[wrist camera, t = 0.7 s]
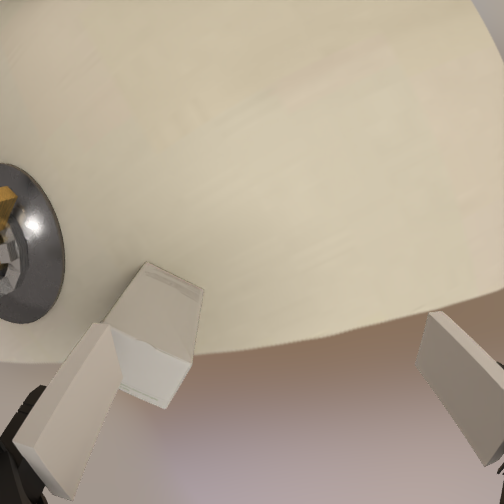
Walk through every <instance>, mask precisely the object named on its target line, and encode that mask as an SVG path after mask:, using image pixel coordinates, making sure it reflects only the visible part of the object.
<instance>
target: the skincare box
mask: <svg viewBox="0 0 504 504" xmlns="http://www.w3.org/2000/svg"><path fill="white" fill-rule="evenodd" d="M203 293H204V290H203V289H202V288H199V287H197V286H195V285H193V284H191V283H189V282H187V281H185V280H183V279H181V278H179V277H177V276H175V275H173V274H171V273H169V272H167V271H165V270H163V269H161V268H159V267H157V266H155V265H152V264H150V263H148V262H146V263H144V265H143V266H142V267H141V269H140V270H139V271H138V273H137V274H136V276H135V277H134V278H133V280H132V281H131V282H130V284H129V285H128V286H127V288H126V289H125V291H124V292H123V293H122V295H121V296H120V297H119V299H118V300H117V302H116V303H115V304H114V306H113V307H112V309H111V310H110V312H109V313H108V314H107V316H106V317H105V318H104V319H103V320H102V321H101V322H100V323H101V324H110V329H111V333H112V337H113V341H114V345H115V349H116V353H117V357H118V361H119V365H120V368H121V372H122V375H123V379H122V382H121V384H120V386H119V388H118V389H120V390H122V391H124V392H126V393H128V394H130V395H133V396H135V397H137V398H139V399H142V400H144V401H146V402H149V403H151V404H153V405H156V406H158V407H161V408H163V409H166V408H167V406H168V405H169V403H170V402H171V400H172V399H173V397H174V395H175V393H176V392H177V390H178V388H179V387H180V385H181V383H182V382H183V380H184V378H185V376H186V375H187V373H188V371H189V370H190V368H191V366H192V362H193V355H194V348H195V342H196V335H197V330H198V323H199V317H200V311H201V306H202V300H203Z"/></svg>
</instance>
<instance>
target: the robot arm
mask: <svg viewBox="0 0 504 504" xmlns="http://www.w3.org/2000/svg"><path fill="white" fill-rule="evenodd" d="M415 366H416V367H417V369H418V370H419V371H420V373H421V374H422V376H423V377H424V378H425V380H426V381H427V382H428V384H429V385H430V387H431V388H432V389H433V391H434V392H435V394H436V395H437V396H438V398H439V399H440V401H441V402H442V404H443V405H444V407H445V408H446V409H447V411H448V412H449V414H450V415H451V417H452V418H453V420H454V421H455V422H456V424H457V426H458V427H459V428H460V430H461V431H462V433H463V435H464V436H465V438H466V439H467V441H468V442H469V444H470V445H471V446H472V448H473V449H474V451H475V453H476V454H477V456H478V458H479V459H480V461H481V462H482V464H483V465H484V467H486V466H488V465H490V464H492V463H494V462H496V461H497V460H499V459H500V458H501V457H502V455H503V454H504V365H502V364H501V363H499V362H495V361H494V360H493V359H492V358H491V357H490V356H489V355H488V354H487V353H486V352H485V351H484V350H483V349H482V348H481V347H480V346H479V345H478V344H477V343H476V342H475V341H474V340H473V339H472V338H471V337H470V336H468V334H466V333H465V332H464V331H463V330H462V329H461V328H460V327H459V326H458V325H457V324H456V323H455V322H453V321H452V320H451V319H450V318H449V317H448V316H447V315H446V314H445V313H443V312H442V311H439V312H431V313H428V317H427V321H426V326H425V330H424V333H423V337H422V341H421V344H420V348H419V352H418V355H417V359H416V362H415ZM122 379H123V375H122V372H121V368H120V365H119V361H118V357H117V353H116V349H115V345H114V341H113V337H112V333H111V329H110V324H101V323H93V324H92V325H91V326H90V328H89V329H88V330H87V332H86V333H85V334H84V336H83V337H82V338H81V340H80V341H79V342H78V344H77V345H76V346H75V348H74V349H73V350H72V352H71V353H70V355H69V356H68V357H67V359H66V360H65V362H64V363H63V364H62V366H61V367H60V369H59V370H58V371H57V373H56V374H55V376H54V377H53V379H52V380H51V382H50V383H49V385H48V386H43V385H40V386H39V387H37V388H36V389H35V390H33V391H32V392H31V393H30V394H29V395H28V397H27V398H26V399H25V401H24V402H23V405H21V406H20V408H19V409H18V413H16V414H15V415H14V417H13V418H12V420H11V421H10V423H9V424H8V426H7V427H6V429H5V430H4V432H3V433H2V435H1V437H0V504H48V503H47V500H46V498H45V496H44V495H43V493H42V491H43V489H44V487H45V486H46V487H47V488H48V490H49V491H50V492H51V493H52V494H53V495H55V496H58V497H61V498H64V499H67V500H70V501H73V500H74V497H75V494H76V492H77V489H78V486H79V483H80V481H81V478H82V476H83V473H84V470H85V468H86V465H87V463H88V460H89V457H90V455H91V452H92V450H93V447H94V445H95V442H96V440H97V438H98V435H99V433H100V430H101V428H102V425H103V423H104V421H105V418H106V416H107V414H108V411H109V409H110V406H111V404H112V402H113V400H114V397H115V395H116V393H117V391H118V388H119V386H120V384H121V382H122ZM503 469H504V463H503V464H502V466H501V467H500V468H499V469H498V472H497V474H500V472H501V471H502V470H503ZM503 475H504V473H503ZM500 504H504V483H503V488H502V494H501V499H500Z"/></svg>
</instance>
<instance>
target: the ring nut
mask: <svg viewBox="0 0 504 504" xmlns="http://www.w3.org/2000/svg"><path fill="white" fill-rule="evenodd" d="M17 198H18V196H17V195H16V194H15V193H14V192H13V191H12V190H11V189H10V188H9V187H8V186H4V187H0V234H1V235H2V238H3V240H4V242H3V243H1V244H0V262H1V264H2V263H9V266H8V269H7V272H6V275H5V277H3V276H0V298H2V297H3V296H4V295H6V294H8V293H10V292H12V291H14V290H15V289H16V288H18V287H19V286H21V284H22V282H23V279H24V277H25V274H26V272H27V270H28V254H27V243H26V240H25V238H24V235H23V233H22V230H21V228H20V225H19V223H18V221H17V220H16V219H15V218H14V217H13V216H12V215H11V211H12V209H13V207H14V204H15V202H16V200H17Z"/></svg>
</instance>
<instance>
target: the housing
mask: <svg viewBox="0 0 504 504" xmlns="http://www.w3.org/2000/svg"><path fill="white" fill-rule="evenodd" d="M4 186H8V187H9V188H10V189H11V190H12V191H13V192H14V193H15V194H16V195H17V196H18V198H17V200H16V202H15V204H14V207H13V209H12V211H11V215H12V216H13V217H14V218H15V219H16V220H17V221H18V223H19V225H20V228H21V230H22V233H23V235H24V238H25V240H26V243H27V254H28V270H27V272H26V274H25V277H24V279H23V282H22V284H21V286H19V287H18V288H16V289H15V290H14V291H12V292H10V293H8V294H6V295H4V296H3V297H2V298H0V318H1V319H4V320H6V321H9V322H12V323H18V324H24V323H30V322H34V321H36V320H38V319H40V318H41V317H42V316H44V315H45V314H46V313H47V312H48V311H49V310H50V309H51V308H52V306H53V305H54V304H55V302H56V300H57V299H58V296H59V294H60V291H61V288H62V284H63V280H64V273H65V252H64V244H63V237H62V233H61V229H60V225H59V222H58V219H57V216H56V214H55V211H54V209H53V207H52V205H51V203H50V201H49V199H48V197H47V196H46V194H45V192H44V191H43V190H42V188H41V187H40V185H39V184H38V183H37V182H36V181H35V180H34V179H33V178H32V177H31V176H30V175H29V174H28V173H26V172H25V171H24V170H22V169H20V168H18V167H16V166H14V165H11V164H5V163H0V187H4ZM3 242H4V240H3V238H2V235H1V234H0V244H1V243H3ZM8 266H9V263H2V264H1V262H0V276H3V277H5V275H6V272H7V269H8Z"/></svg>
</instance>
